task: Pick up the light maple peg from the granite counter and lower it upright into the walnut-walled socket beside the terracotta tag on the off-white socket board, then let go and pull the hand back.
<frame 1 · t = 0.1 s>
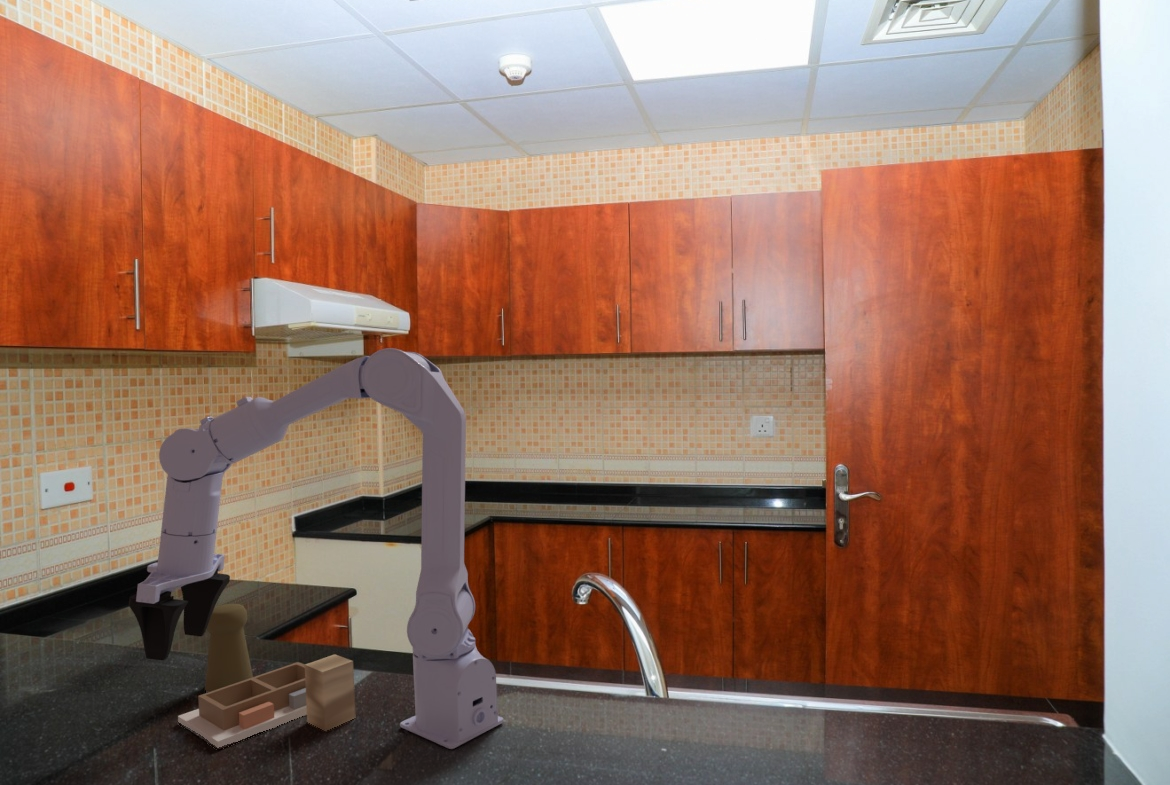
hand: (176, 646, 85), 11 cm above the countertop, tool pointing down, fingers open, 7 cm apart
maple peg: (331, 720, 87), on the countertop
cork: (229, 687, 99), on the countertop
socket board: (264, 711, 91), on the countertop
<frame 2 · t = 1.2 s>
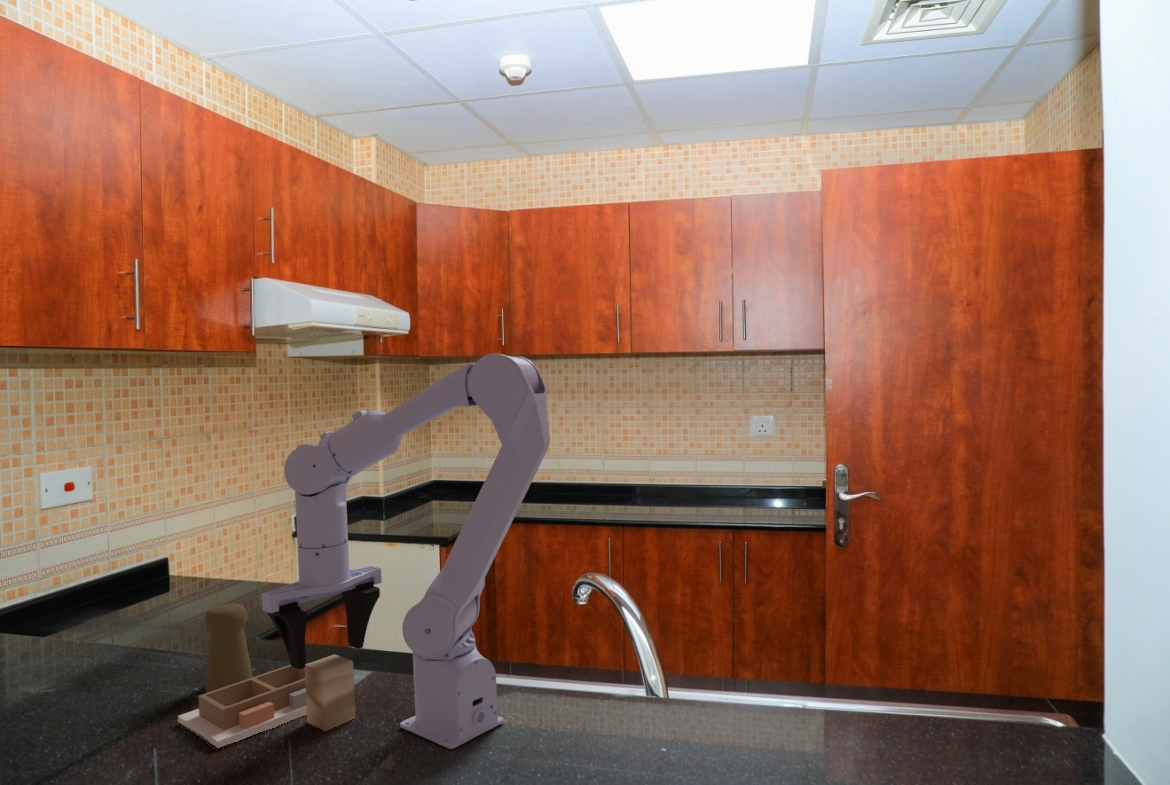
hand: (328, 656, 87), 8 cm above the countertop, tool pointing down, fingers open, 7 cm apart
nothing on the countertop moved.
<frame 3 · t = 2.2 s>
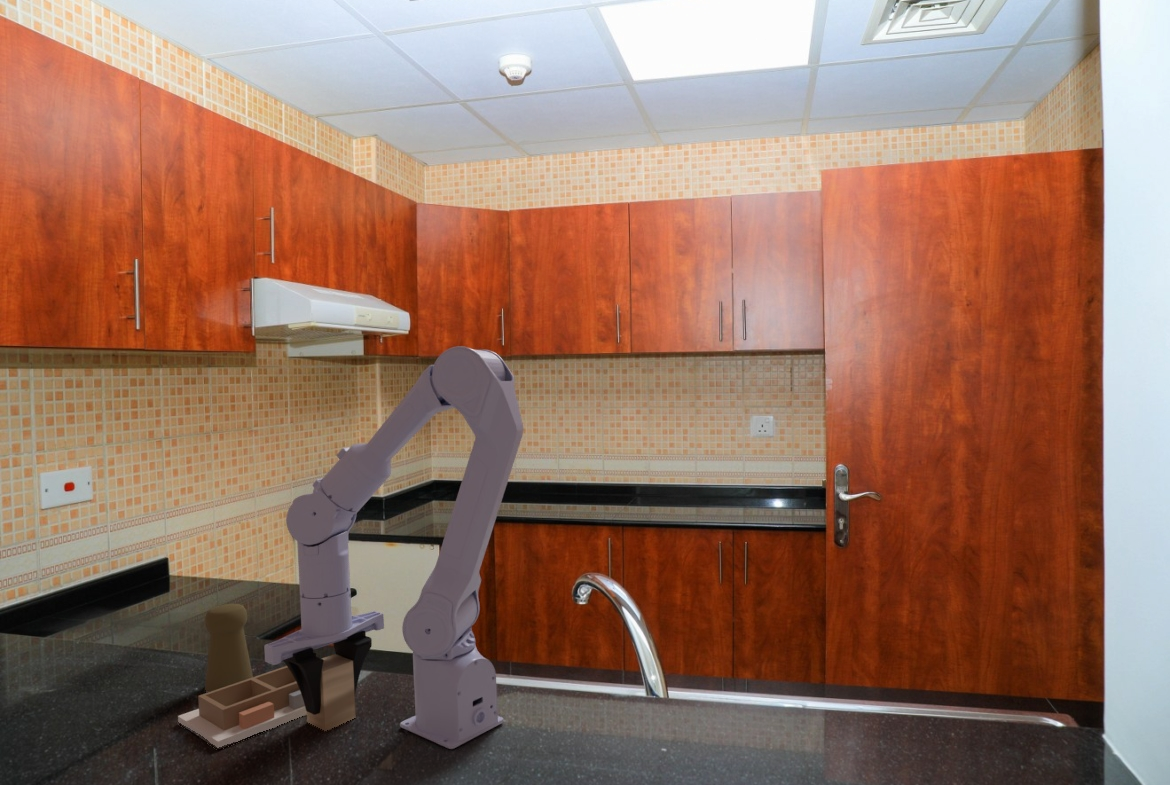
hand: (330, 704, 87), 2 cm above the countertop, tool pointing down, fingers closed on maple peg, 4 cm apart
maple peg: (331, 720, 87), on the countertop, touching gripper
everything else where it was.
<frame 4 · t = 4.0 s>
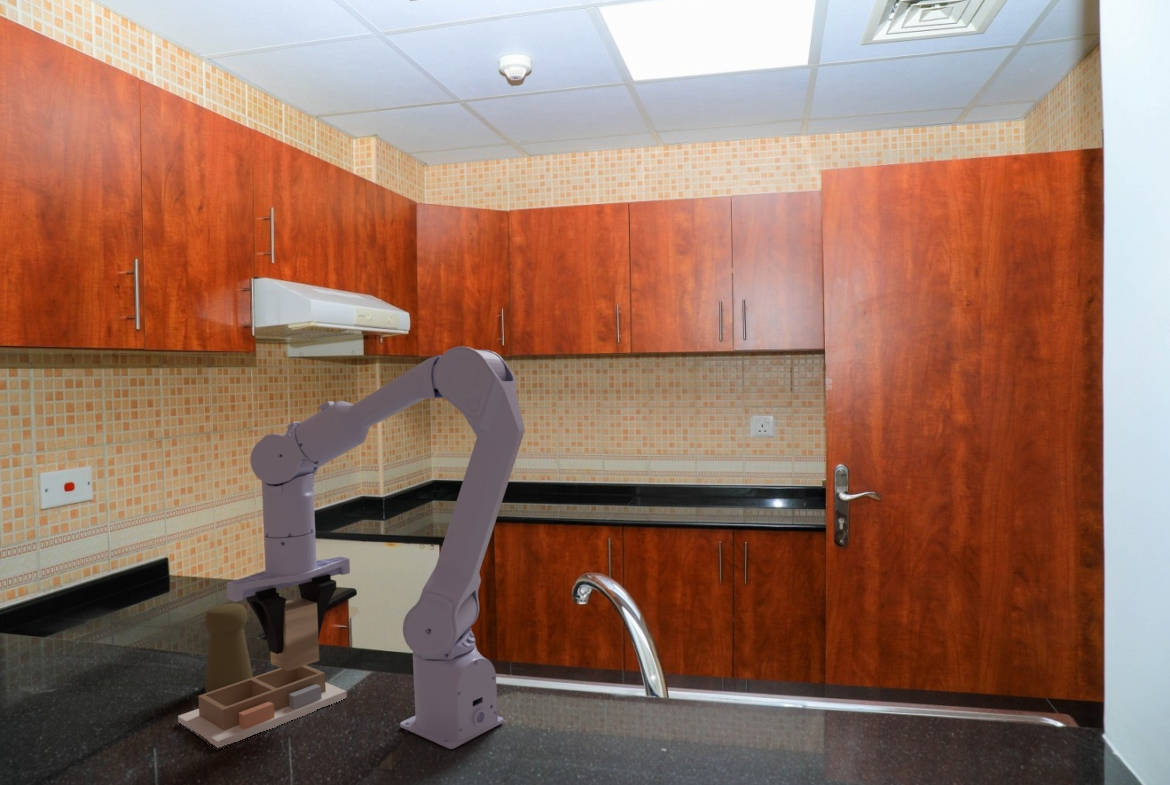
hand: (294, 645, 87), 9 cm above the countertop, tool pointing down, fingers closed on maple peg, 4 cm apart
maple peg: (295, 662, 87), point 7 cm above the countertop, touching gripper
everything else where it was.
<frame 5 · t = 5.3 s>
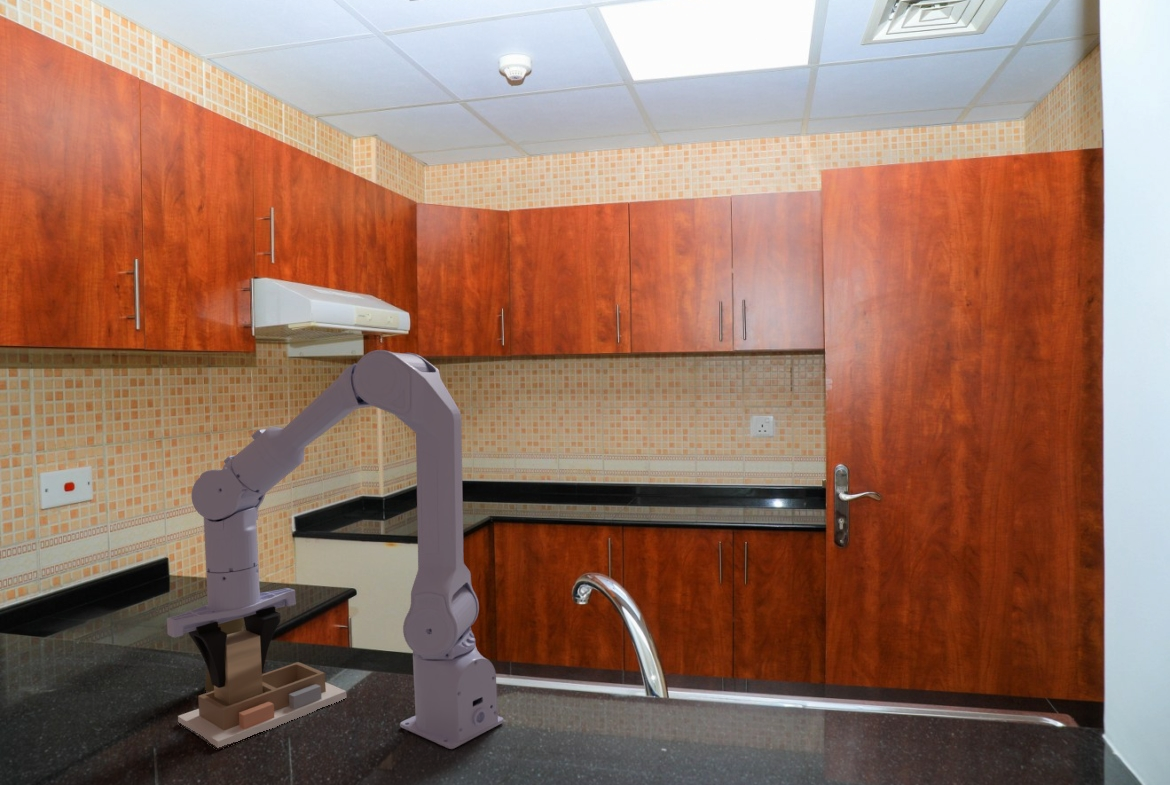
hand: (238, 678, 88), 5 cm above the countertop, tool pointing down, fingers closed on maple peg, 4 cm apart
maple peg: (238, 694, 88), point 3 cm above the countertop, touching gripper
everything else where it was.
when the fingers open (4 cm above the countertop, at t = 6.0 s): maple peg stays where it is, resting on socket board.
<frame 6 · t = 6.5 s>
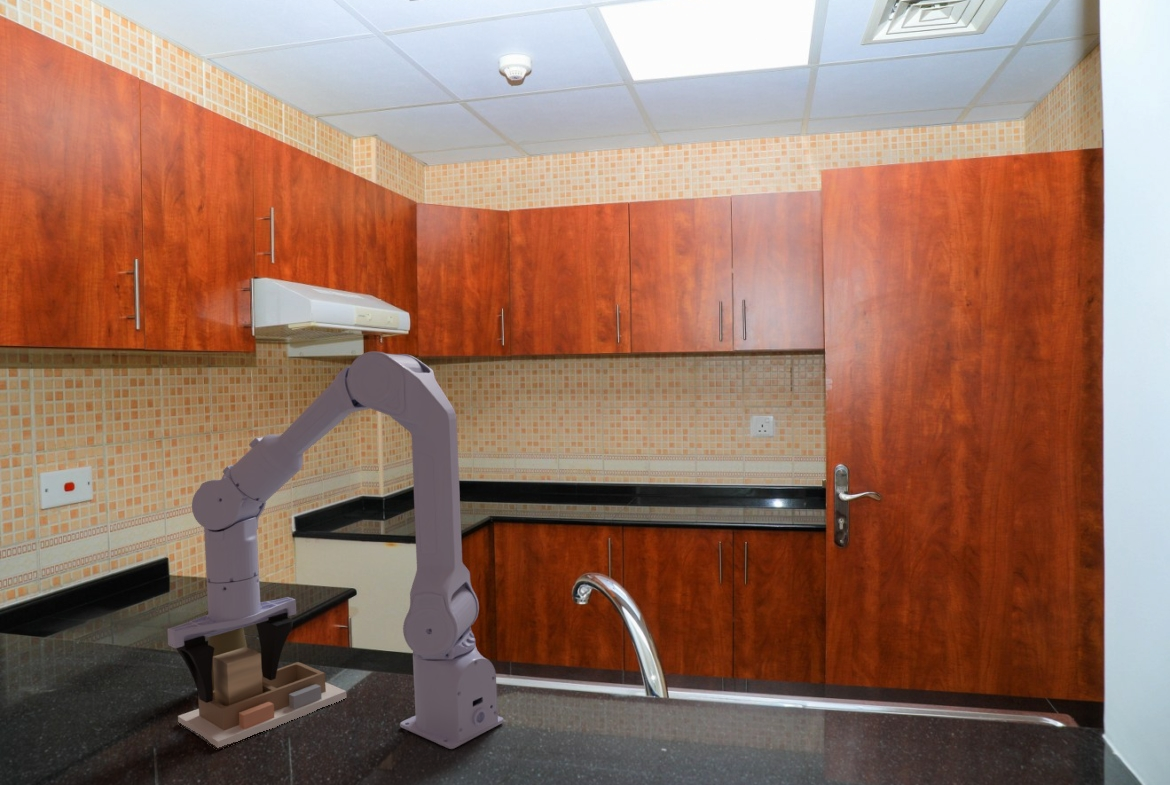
hand: (238, 688, 88), 4 cm above the countertop, tool pointing down, fingers open, 7 cm apart
maple peg: (239, 712, 88), point 1 cm above the countertop, touching socket board
everything else where it was.
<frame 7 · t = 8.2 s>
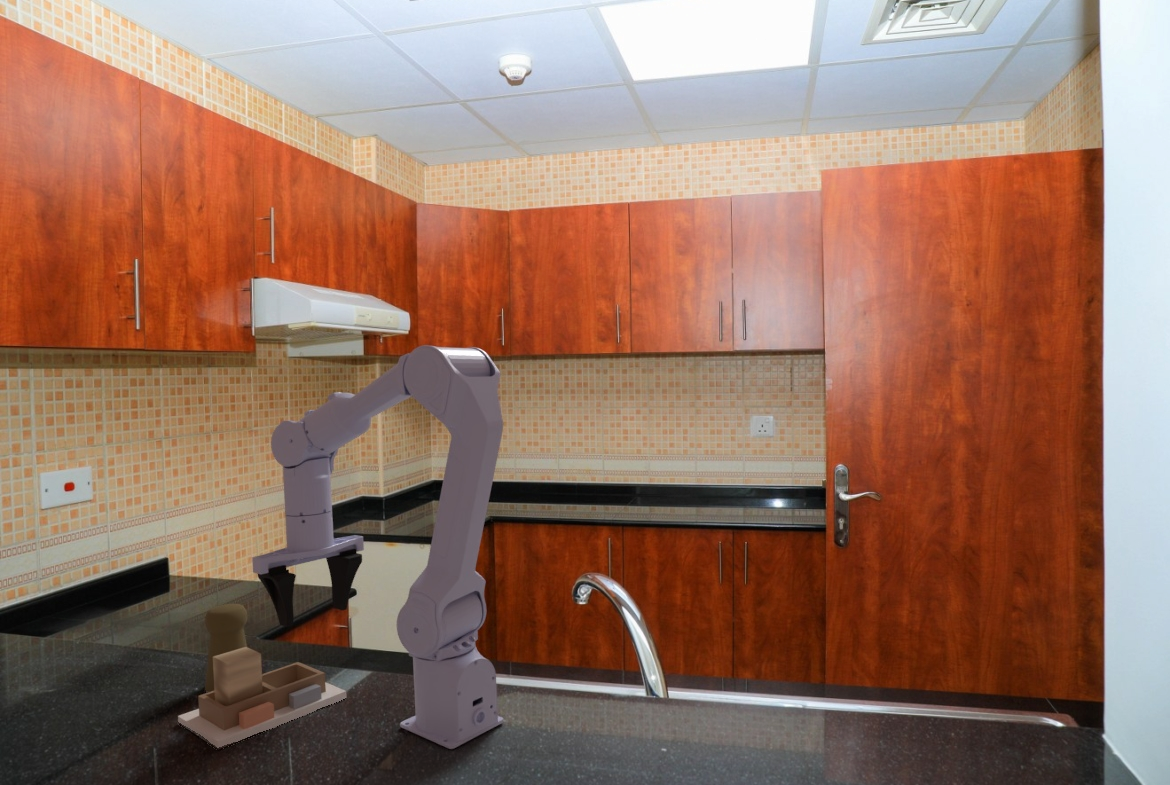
hand: (314, 616, 94), 10 cm above the countertop, tool pointing down, fingers open, 7 cm apart
nothing on the countertop moved.
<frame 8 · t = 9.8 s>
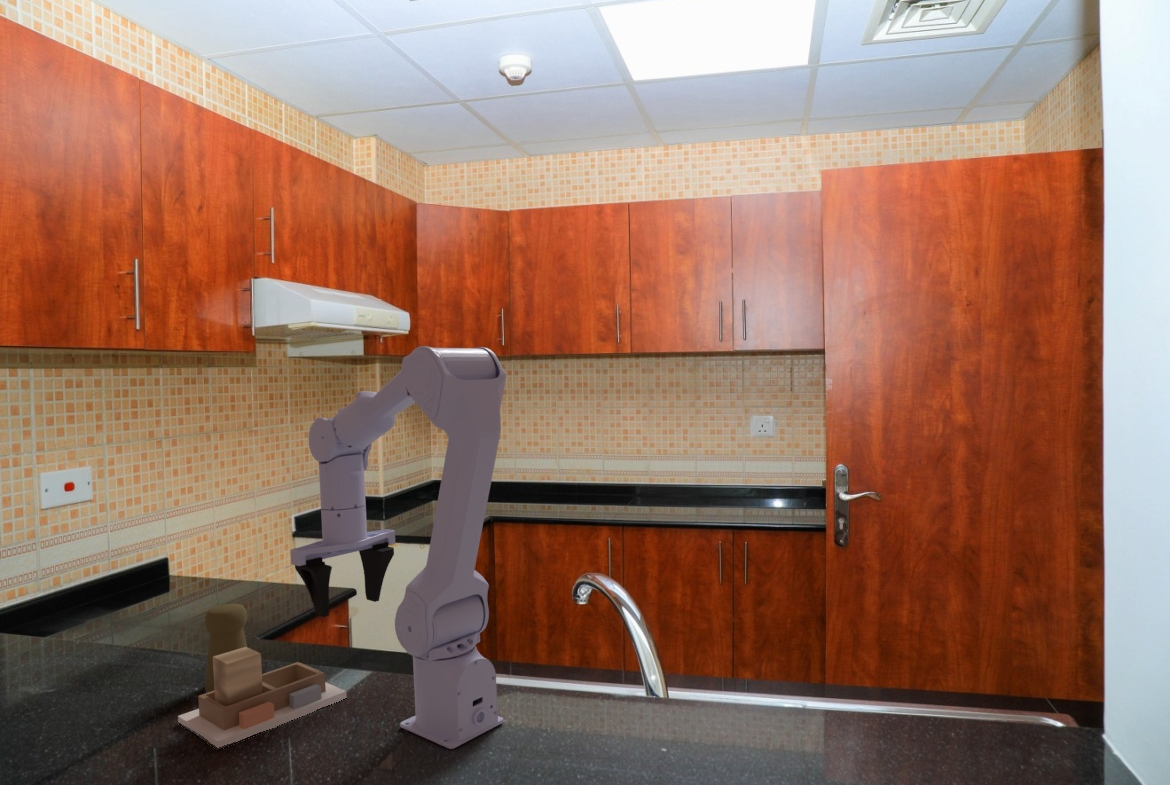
hand: (348, 607, 98), 10 cm above the countertop, tool pointing down, fingers open, 7 cm apart
nothing on the countertop moved.
at the end: maple peg 0.1 cm from the target spot on the socket board, point 1.0 cm above the socket board's base; maple peg tilted 0°; the gripper is holding nothing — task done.
